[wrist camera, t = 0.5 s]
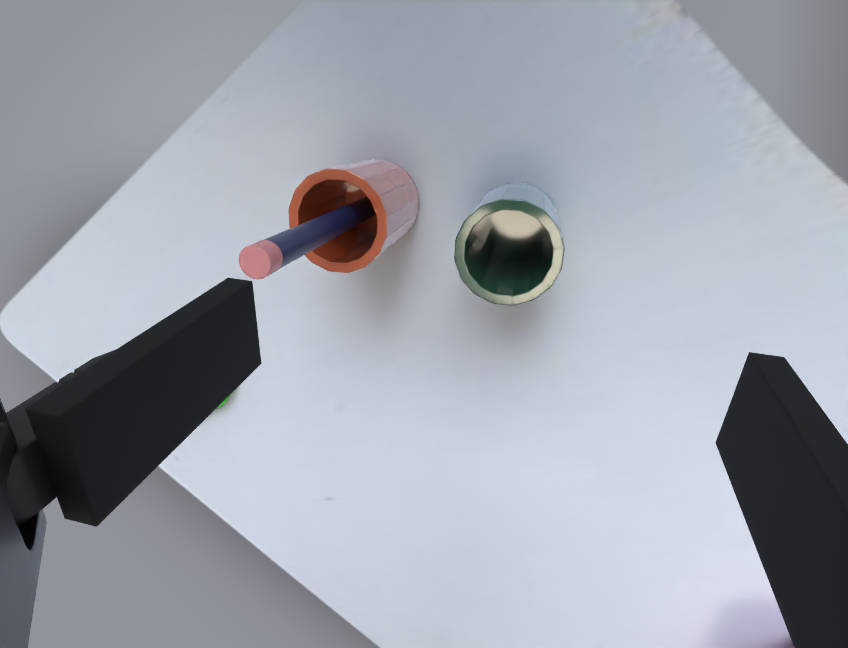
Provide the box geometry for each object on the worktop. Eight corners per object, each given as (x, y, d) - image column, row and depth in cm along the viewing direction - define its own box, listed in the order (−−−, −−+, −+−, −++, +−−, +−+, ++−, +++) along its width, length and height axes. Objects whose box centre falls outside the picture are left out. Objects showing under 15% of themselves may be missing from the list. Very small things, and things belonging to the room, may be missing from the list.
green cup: (476, 179, 37) (458, 195, 29) (563, 185, 36) (570, 203, 28) (469, 263, 40) (451, 299, 31) (552, 270, 38) (556, 310, 30)
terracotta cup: (340, 156, 39) (286, 166, 30) (420, 161, 38) (387, 172, 29) (341, 238, 41) (291, 267, 33) (417, 245, 40) (385, 276, 32)
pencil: (367, 192, 39) (236, 244, 22) (386, 193, 38) (269, 246, 22) (367, 212, 39) (239, 278, 22) (386, 213, 39) (271, 280, 22)
